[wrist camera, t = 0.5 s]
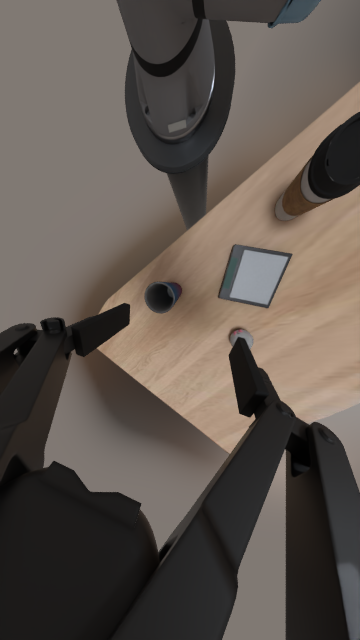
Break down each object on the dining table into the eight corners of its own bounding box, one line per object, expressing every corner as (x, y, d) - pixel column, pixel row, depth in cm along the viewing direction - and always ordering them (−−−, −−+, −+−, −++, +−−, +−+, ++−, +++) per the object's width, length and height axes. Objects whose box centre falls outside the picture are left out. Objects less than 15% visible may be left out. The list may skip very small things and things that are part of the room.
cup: (178, 275, 40) (164, 275, 26) (188, 295, 41) (180, 305, 27) (160, 286, 42) (138, 291, 28) (170, 304, 43) (154, 318, 29)
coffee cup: (266, 194, 30) (320, 125, 16) (308, 174, 28) (414, 73, 14) (271, 233, 32) (323, 200, 18) (311, 217, 30) (405, 166, 16)
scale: (232, 246, 35) (235, 243, 32) (286, 255, 33) (295, 253, 30) (218, 296, 40) (219, 298, 36) (264, 306, 38) (269, 309, 35)
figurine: (244, 322, 41) (253, 332, 33) (252, 340, 42) (262, 353, 35) (224, 330, 43) (229, 341, 35) (233, 347, 44) (239, 361, 37)
